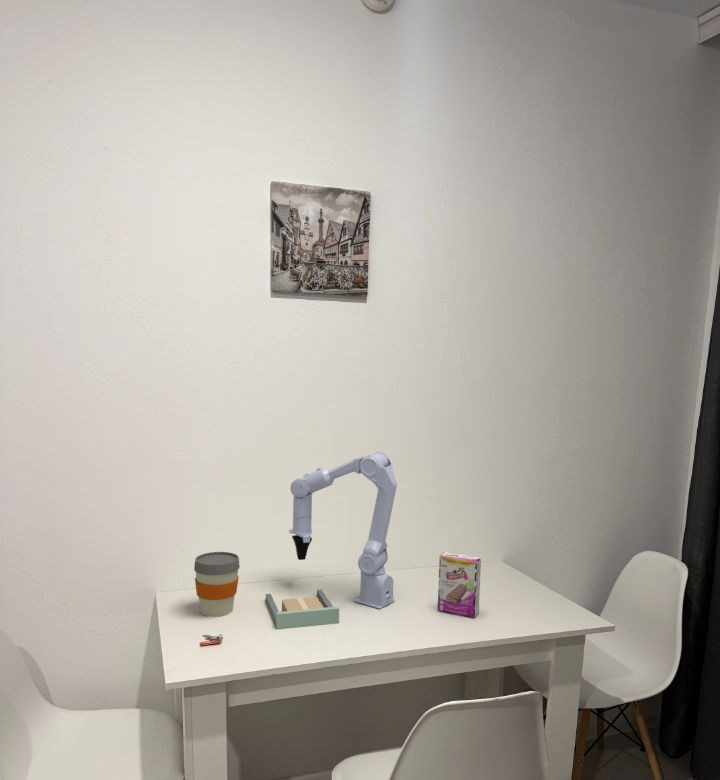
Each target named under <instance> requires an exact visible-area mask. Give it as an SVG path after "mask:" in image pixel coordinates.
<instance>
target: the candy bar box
mask: <svg viewBox="0 0 720 780" xmlns="http://www.w3.org/2000/svg"><path fill="white" fill-rule="evenodd" d="M438 565H439V568H438V573H439V574H438V590H437V591H438V594H437V595H438V596H437V598H438V599H437V612H441V613H447V614H451V615H452V614H453V615H458V616H462V617H466V618H473V619H475V618H476V616H478V614H479V612H480V591H481V589H480V588H481V571H482V570H481V567H482V558H481V557H478V556H473V555H468V554H467V555H466V554H460V553H456V552H455V553H453V552H449V551H443V553H441V554H440V555H439V564H438Z"/></svg>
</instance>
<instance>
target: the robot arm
mask: <svg viewBox="0 0 720 780" xmlns="http://www.w3.org/2000/svg"><path fill="white" fill-rule="evenodd" d="M352 473H355V474H358V475H360V474H362V475H363V476H364V478H365V477H366V479H368V480H370V481H371V483H373V484H374V485H375V487H376V488H377V493H376V494H377V495H376V499H375V505H374V510H373V514H372V519H371V524H370V529H369V534H368V538H367V541H366V543H365V546H364V547H363V550H362V554H361V555H360V556H359V558H358V561H357V566H358V569H359V571H360V590H359V597H357V598H354V599H353V602H355V603H359V604H362V605H364V606H365V605H366V606H368V607H372V608H375V609H379V610H380V609H383V608H384V607H386V606H388V605H390V604H392V603H393V602H395V599H394V578H393V577H392V576H391V575H389V574H388V573H386V567H385V564H387V562H388V559H389V558H388V557H389V556H388V549H387V548H388V543H387V542H386V540H387V536H388V530H389V526H390V522H391V521H390V520H391V516H392V512H393V507H394V502H395V497H396V492H397V487H398V485H397V484H398V483H397V480H396V477H395V473H394V469H393V462H392V460H391V459H390V457H388V456H387V454H385V453H384V452H380V451H378V452H374V453H373V454H367V455H364V456H360V457H356V458H353V459H351V460H349V461H346V462H344V463H342V464H340V465H338V466H335V467H334V468H331V469H330V468H327V467H321V466H320V467H317V468H316V471H313V472H311V473H304V474H303V476H302V477H299V478H296V479H295V480H293V481H292V482H291V484H290V493H291V494H292V496H293V502H292V504H293V505H292V506H293V507H292V512H293V513H292V529H289V530H288V533H289V534H294V535H291V538H292V539H293V543H294V546H295V551H296V556H297V559H298V560H299V561H303V560H306V557H307V555H308V551H309V550H308V549H309V547H310V544H311V543H312V540H313V538H312V537H311V535H312V533H313V529H312V520H313V519H312V515H313V514H312V513H313V511H312V510H313V509H312V508H313V507H312V505H313V501H312V498H313V494H314V493H316V492H319V491H321V490H323V489H325V488H328V487H330V486H332V485H333V483H334V481H335V480H336V479H338V478H340V477H343V476H346V475H349V474H352Z"/></svg>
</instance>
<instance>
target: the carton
mask: <svg viewBox="0 0 720 780" xmlns="http://www.w3.org/2000/svg"><path fill="white" fill-rule="evenodd" d="M316 608H324V607H323V606H322V604H321V602H320V601H319V599H318V597H317V595H316V596H315V595H314V596H306V597H296V598H293V597H292V598H286V599H285V598H284V599H281V612H284V611H295V610H305V609H316Z"/></svg>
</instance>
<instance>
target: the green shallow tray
mask: <svg viewBox="0 0 720 780" xmlns="http://www.w3.org/2000/svg"><path fill="white" fill-rule="evenodd" d="M316 596H317V598H318V600H320V603H321V604H322V606H323V607H324V608H316V609H305V610H295V611H284V612H282V611H279V610H278V607H277V605H276V602H275V600H274V598H273V596H272V593H265V603H266V606H267V608H268V611H269V614H270V616H271V618H272V620H273V623H274V626H275V627H276V630H283V629H284V630H285V629H291V628H292V629H293V628H302V627H311V626H312V627H313V626H321V625H322V626H323V625H331V624H340V608H339V606H334V605H333V604H332V602H331V601H330V600H329V598H328V597H327V595H326V593H325V592H324V590H323V589H316Z"/></svg>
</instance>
